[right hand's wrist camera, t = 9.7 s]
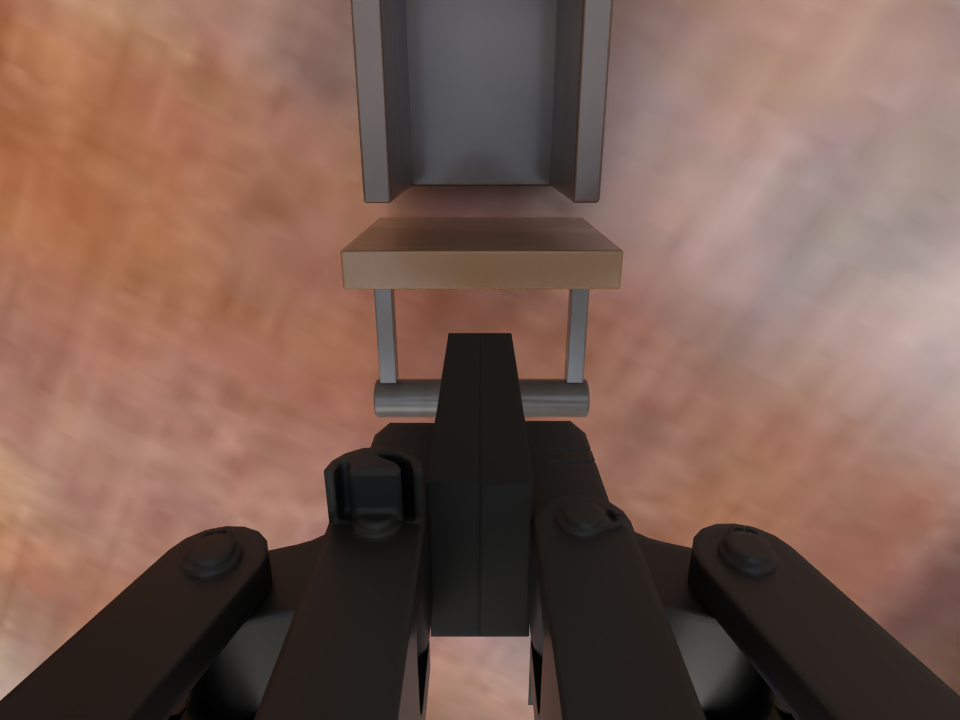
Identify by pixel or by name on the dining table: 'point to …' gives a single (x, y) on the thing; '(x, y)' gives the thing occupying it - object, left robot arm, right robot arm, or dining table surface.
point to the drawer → (481, 165)
